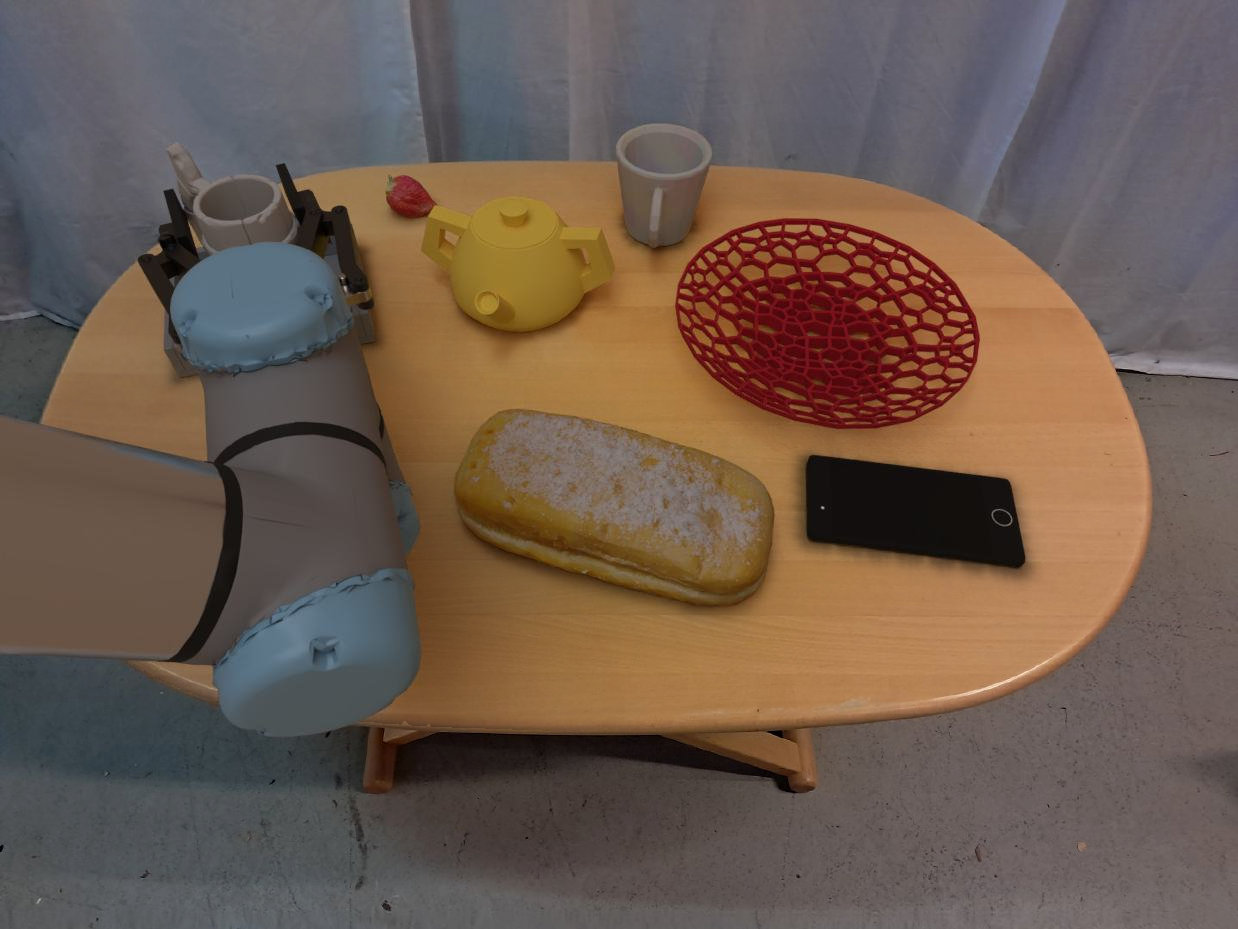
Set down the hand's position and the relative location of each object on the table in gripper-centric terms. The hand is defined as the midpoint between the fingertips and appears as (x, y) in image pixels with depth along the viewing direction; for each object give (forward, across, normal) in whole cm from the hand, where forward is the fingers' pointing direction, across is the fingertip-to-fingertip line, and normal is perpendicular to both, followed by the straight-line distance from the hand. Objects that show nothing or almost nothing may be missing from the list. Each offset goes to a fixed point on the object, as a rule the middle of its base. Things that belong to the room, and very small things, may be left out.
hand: (231, 191), depth 65 cm
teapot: (-3, +22, -18) cm, 29 cm away
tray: (+6, 0, -18) cm, 19 cm away
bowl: (-22, +48, -18) cm, 55 cm away
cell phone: (-42, +43, -18) cm, 63 cm away
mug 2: (+1, +41, -18) cm, 45 cm away
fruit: (+17, +18, -18) cm, 30 cm away
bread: (-32, +19, -18) cm, 42 cm away
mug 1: (-5, -1, -7) cm, 8 cm away
